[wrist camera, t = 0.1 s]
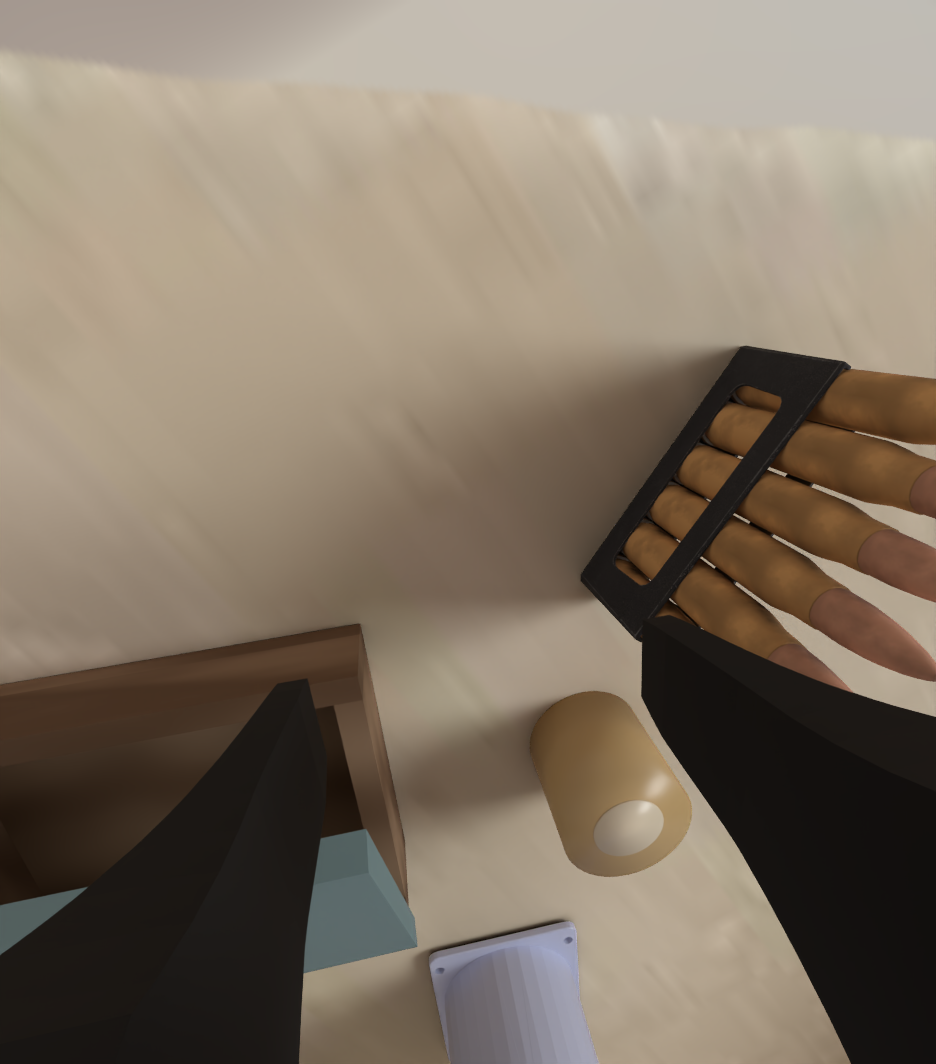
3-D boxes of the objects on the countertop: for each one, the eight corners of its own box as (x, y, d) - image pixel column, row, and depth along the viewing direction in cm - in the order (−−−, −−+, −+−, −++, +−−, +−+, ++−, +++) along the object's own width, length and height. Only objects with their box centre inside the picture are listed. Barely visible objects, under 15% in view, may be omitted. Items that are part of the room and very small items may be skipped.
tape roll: (636, 768, 27) (690, 862, 23) (533, 790, 27) (566, 890, 22) (637, 681, 25) (696, 763, 21) (525, 702, 25) (560, 792, 20)
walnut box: (404, 840, 27) (408, 913, 23) (48, 916, 25) (-1, 1005, 22) (360, 623, 22) (357, 676, 19) (-78, 698, 20) (-163, 769, 17)
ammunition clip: (612, 596, 24) (822, 844, 13) (577, 578, 23) (765, 820, 12) (776, 371, 21) (1218, 431, 10) (742, 344, 21) (1172, 376, 9)
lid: (414, 917, 23) (417, 946, 23) (-6, 1013, 22) (-16, 1047, 21) (366, 828, 14) (368, 872, 14) (-360, 980, 13) (-398, 1039, 12)
